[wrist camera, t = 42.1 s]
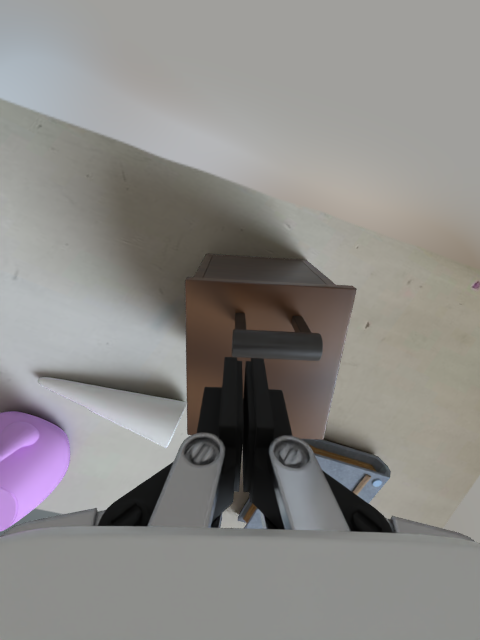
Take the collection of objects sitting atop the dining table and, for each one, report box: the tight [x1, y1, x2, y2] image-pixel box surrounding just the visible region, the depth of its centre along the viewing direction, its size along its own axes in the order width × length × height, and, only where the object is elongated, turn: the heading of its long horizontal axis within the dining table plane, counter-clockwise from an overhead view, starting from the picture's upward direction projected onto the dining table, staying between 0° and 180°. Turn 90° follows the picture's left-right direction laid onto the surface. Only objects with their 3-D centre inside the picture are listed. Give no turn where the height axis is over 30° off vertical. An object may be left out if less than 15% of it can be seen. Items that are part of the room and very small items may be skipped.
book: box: [238, 439, 391, 529], centre depth 45 cm, size 21×16×5 cm
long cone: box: [38, 377, 187, 448], centre depth 38 cm, size 6×6×19 cm
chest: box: [194, 254, 336, 285], centre depth 29 cm, size 13×12×14 cm
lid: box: [185, 277, 356, 440], centre depth 20 cm, size 13×12×6 cm
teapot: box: [0, 411, 70, 531], centre depth 37 cm, size 20×13×12 cm, turn 151°
